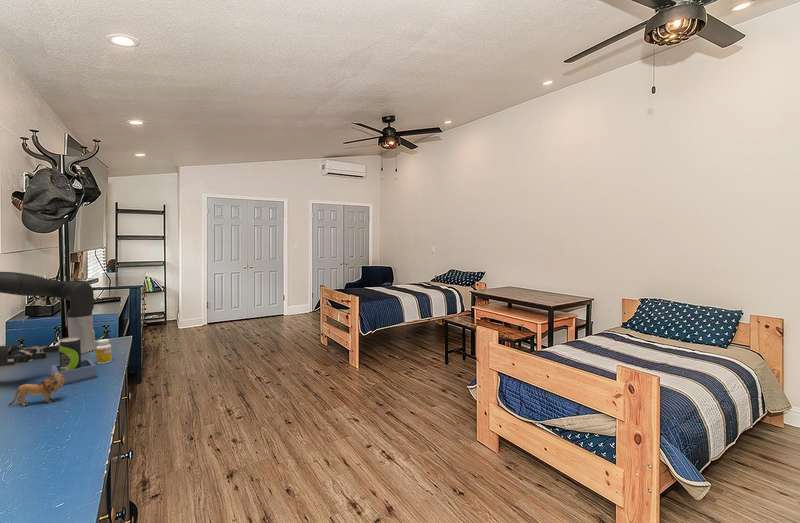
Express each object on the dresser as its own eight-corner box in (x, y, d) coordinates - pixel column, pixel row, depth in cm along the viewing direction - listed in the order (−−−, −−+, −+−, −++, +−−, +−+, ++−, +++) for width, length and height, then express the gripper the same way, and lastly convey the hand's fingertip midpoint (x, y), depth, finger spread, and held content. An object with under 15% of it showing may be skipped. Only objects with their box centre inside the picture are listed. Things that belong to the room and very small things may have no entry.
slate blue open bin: (90, 370, 161) (90, 358, 161) (96, 377, 153) (95, 365, 153) (52, 378, 152) (51, 365, 152) (56, 386, 144) (55, 373, 144)
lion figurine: (67, 395, 137) (65, 370, 136) (63, 401, 133) (61, 375, 132) (11, 404, 130) (8, 378, 129) (4, 410, 126) (2, 383, 125)
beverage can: (83, 377, 151) (82, 339, 150) (62, 381, 146) (61, 342, 145) (79, 372, 155) (78, 335, 153) (58, 376, 150) (57, 338, 149)
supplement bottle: (93, 363, 169) (92, 341, 169) (107, 359, 174) (105, 338, 174) (101, 364, 167) (100, 342, 167) (115, 360, 172) (113, 339, 172)
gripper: (-16, 352, 138) (41, 348, 143) (11, 341, 152) (61, 337, 156) (-14, 372, 139) (42, 367, 143) (12, 359, 152) (62, 355, 157)
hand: (52, 352), depth 150 cm, fingers open, 8 cm apart
